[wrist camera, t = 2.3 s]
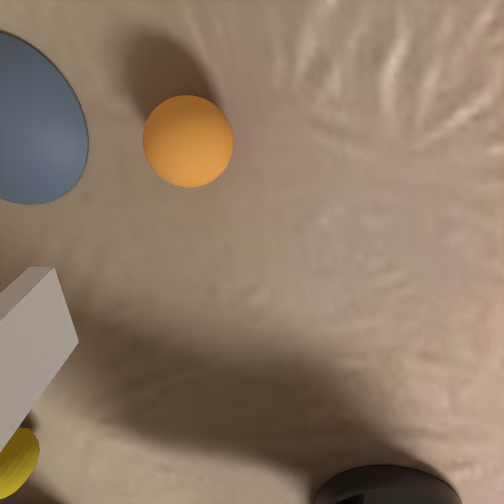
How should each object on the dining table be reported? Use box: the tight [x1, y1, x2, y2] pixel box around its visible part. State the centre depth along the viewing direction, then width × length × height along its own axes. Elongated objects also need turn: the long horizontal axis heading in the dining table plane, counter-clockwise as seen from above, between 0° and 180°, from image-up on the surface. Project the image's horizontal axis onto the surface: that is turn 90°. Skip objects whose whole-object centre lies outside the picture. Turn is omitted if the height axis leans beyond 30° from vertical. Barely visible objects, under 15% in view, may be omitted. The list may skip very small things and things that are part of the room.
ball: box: [143, 95, 233, 187], centre depth 27 cm, size 6×6×6 cm
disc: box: [0, 33, 88, 204], centre depth 31 cm, size 12×12×1 cm
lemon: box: [0, 427, 40, 499], centre depth 44 cm, size 6×6×8 cm
